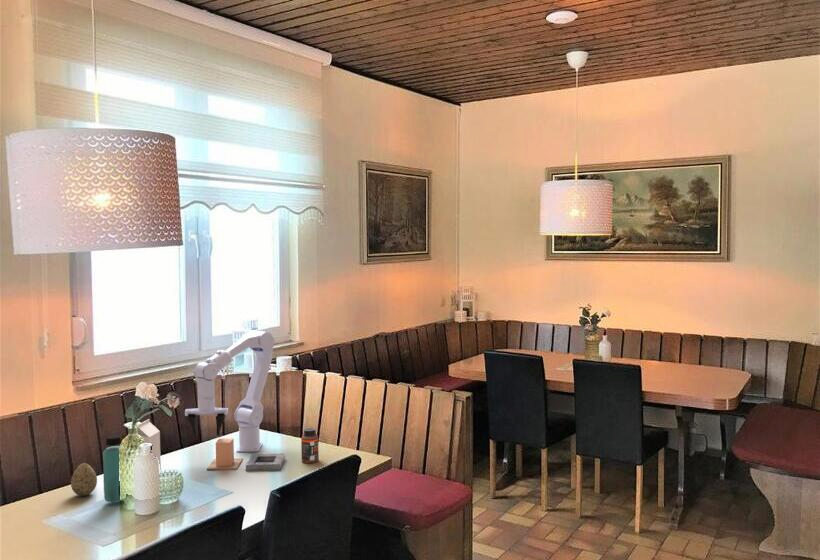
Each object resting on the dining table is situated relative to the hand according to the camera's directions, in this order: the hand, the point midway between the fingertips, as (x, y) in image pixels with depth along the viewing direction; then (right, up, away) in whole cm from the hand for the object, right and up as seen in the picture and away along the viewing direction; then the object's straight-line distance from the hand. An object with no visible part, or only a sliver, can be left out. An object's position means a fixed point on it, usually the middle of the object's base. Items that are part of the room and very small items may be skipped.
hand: (207, 435), depth 235 cm
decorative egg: (-28, -12, -30) cm, 43 cm away
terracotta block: (+7, -9, -3) cm, 12 cm away
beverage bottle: (-16, -12, -37) cm, 42 cm away
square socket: (+21, -9, -4) cm, 24 cm away
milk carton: (-15, -11, -17) cm, 25 cm away
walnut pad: (+7, -10, -3) cm, 12 cm away
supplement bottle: (+36, -9, 0) cm, 37 cm away
